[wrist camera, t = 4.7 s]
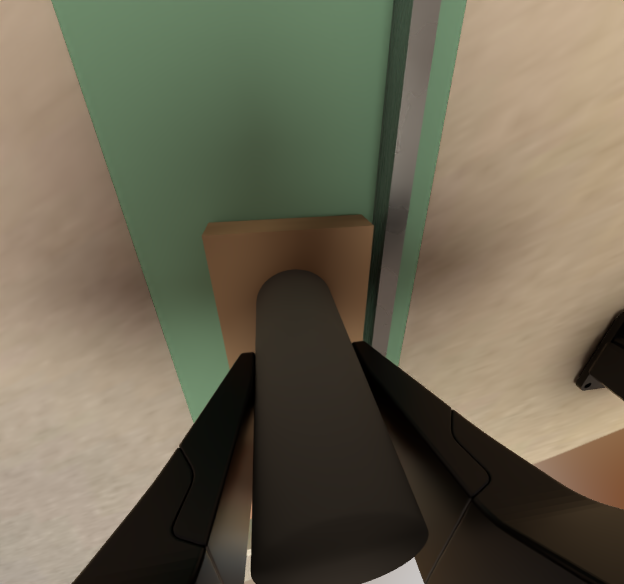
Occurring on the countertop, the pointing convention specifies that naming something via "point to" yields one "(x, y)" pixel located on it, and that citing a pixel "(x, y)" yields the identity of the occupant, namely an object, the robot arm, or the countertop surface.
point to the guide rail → (398, 155)
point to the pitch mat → (244, 135)
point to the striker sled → (312, 401)
